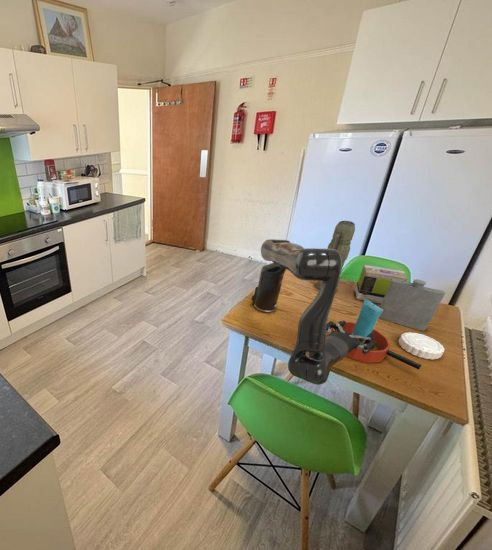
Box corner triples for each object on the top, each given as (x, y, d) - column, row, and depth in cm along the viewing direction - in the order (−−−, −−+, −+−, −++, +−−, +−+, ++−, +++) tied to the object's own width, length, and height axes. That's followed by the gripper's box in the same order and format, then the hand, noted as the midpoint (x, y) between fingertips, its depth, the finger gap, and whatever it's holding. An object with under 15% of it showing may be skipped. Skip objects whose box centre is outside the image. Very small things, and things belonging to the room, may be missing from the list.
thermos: (340, 287, 151) (363, 221, 135) (330, 295, 145) (353, 227, 129) (321, 281, 157) (341, 217, 141) (311, 288, 151) (331, 222, 135)
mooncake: (398, 334, 118) (401, 327, 116) (439, 346, 111) (443, 339, 110) (397, 350, 110) (401, 343, 108) (442, 365, 103) (447, 357, 102)
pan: (320, 342, 115) (324, 332, 113) (341, 326, 123) (345, 316, 121) (406, 386, 95) (412, 375, 93) (424, 364, 104) (430, 353, 101)
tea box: (392, 297, 142) (404, 269, 135) (395, 307, 134) (409, 279, 127) (354, 289, 149) (364, 263, 142) (355, 299, 141) (366, 271, 134)
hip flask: (425, 327, 121) (448, 285, 112) (424, 332, 119) (448, 289, 109) (377, 312, 131) (394, 273, 122) (375, 316, 129) (393, 276, 119)
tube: (369, 351, 110) (389, 308, 101) (359, 353, 109) (378, 310, 100) (352, 338, 117) (369, 297, 108) (342, 341, 116) (358, 299, 107)
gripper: (363, 350, 89) (385, 330, 97) (315, 326, 100) (338, 310, 108) (355, 368, 93) (377, 348, 101) (309, 344, 103) (332, 327, 111)
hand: (357, 328), depth 104 cm, fingers open, 8 cm apart
